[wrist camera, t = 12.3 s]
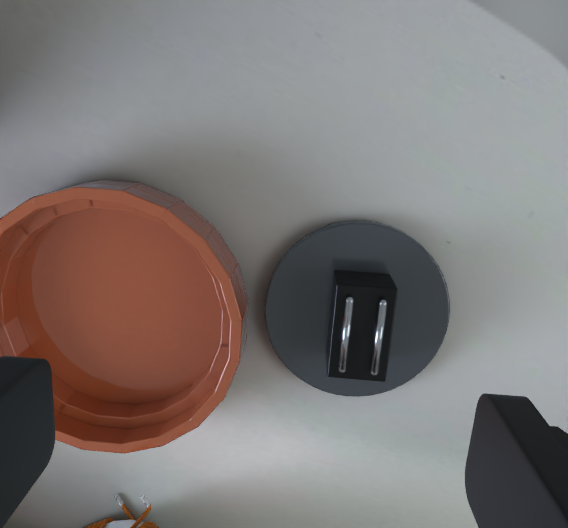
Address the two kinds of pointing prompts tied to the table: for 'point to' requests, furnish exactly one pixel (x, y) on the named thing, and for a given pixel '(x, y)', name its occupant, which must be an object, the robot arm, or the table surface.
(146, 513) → the coil
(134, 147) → the table surface
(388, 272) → the plate
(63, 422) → the bowl
